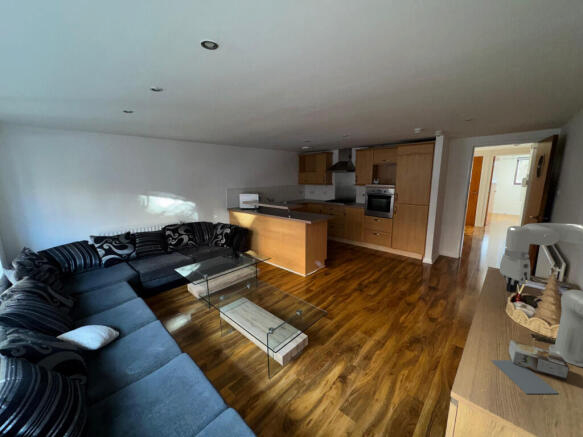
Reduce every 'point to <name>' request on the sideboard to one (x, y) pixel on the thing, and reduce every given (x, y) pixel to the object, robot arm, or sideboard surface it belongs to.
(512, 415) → the sideboard surface
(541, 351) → the coffee box
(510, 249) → the robot arm
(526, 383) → the felt mat
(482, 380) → the sideboard surface
